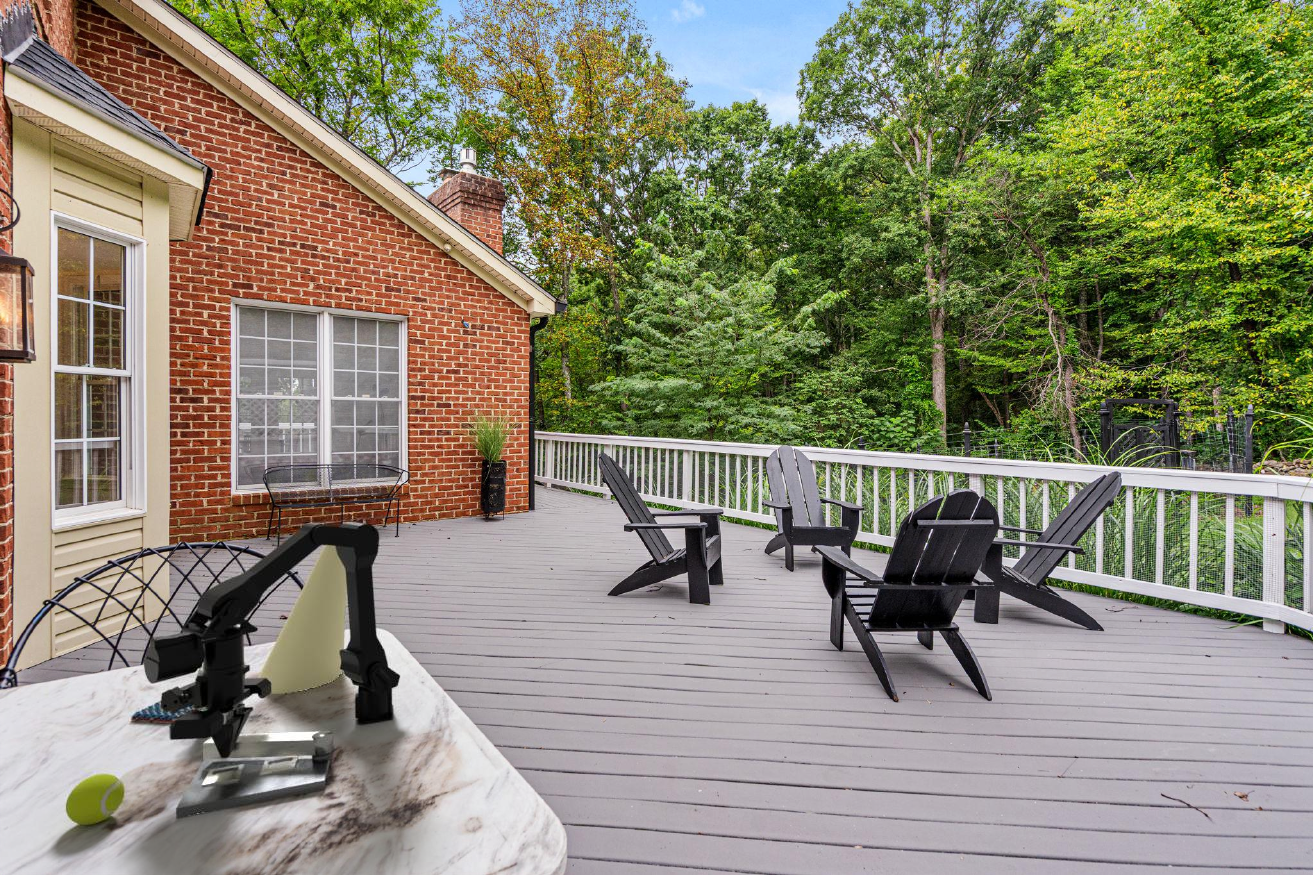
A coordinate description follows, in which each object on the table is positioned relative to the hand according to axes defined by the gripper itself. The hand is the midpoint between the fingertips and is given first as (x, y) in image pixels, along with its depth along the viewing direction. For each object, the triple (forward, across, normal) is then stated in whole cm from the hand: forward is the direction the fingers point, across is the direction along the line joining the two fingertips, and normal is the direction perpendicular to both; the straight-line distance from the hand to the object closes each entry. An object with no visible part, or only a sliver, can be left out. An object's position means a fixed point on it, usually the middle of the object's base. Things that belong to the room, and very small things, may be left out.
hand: (225, 757), depth 109 cm
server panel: (+4, 0, +6) cm, 7 cm away
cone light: (+3, -43, -6) cm, 44 cm away
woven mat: (+4, -28, -27) cm, 39 cm away
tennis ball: (+4, +11, -12) cm, 17 cm away
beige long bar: (+1, -3, +6) cm, 7 cm away
